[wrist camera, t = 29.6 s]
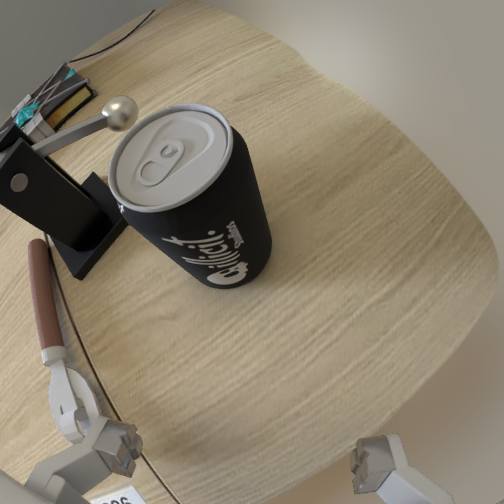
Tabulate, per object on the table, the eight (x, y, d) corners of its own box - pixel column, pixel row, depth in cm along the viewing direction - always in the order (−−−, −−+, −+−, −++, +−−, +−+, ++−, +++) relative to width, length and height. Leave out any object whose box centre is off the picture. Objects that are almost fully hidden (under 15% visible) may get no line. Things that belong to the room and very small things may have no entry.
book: (73, 73, 40) (60, 56, 35) (101, 93, 34) (85, 70, 29) (-6, 155, 37) (-21, 142, 32) (1, 200, 31) (-20, 184, 26)
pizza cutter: (21, 268, 26) (3, 259, 23) (53, 238, 26) (34, 227, 23) (80, 448, 18) (59, 454, 16) (123, 430, 19) (102, 437, 16)
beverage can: (289, 235, 22) (275, 120, 11) (238, 309, 21) (167, 252, 10) (221, 197, 24) (167, 86, 13) (172, 261, 23) (77, 181, 12)
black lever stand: (99, 177, 28) (25, 100, 16) (136, 215, 25) (45, 125, 13) (52, 233, 27) (-33, 175, 15) (81, 280, 24) (-28, 225, 12)
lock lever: (128, 118, 24) (126, 87, 21) (146, 129, 23) (144, 95, 20) (2, 182, 17) (-10, 150, 14) (8, 201, 16) (-7, 166, 13)
